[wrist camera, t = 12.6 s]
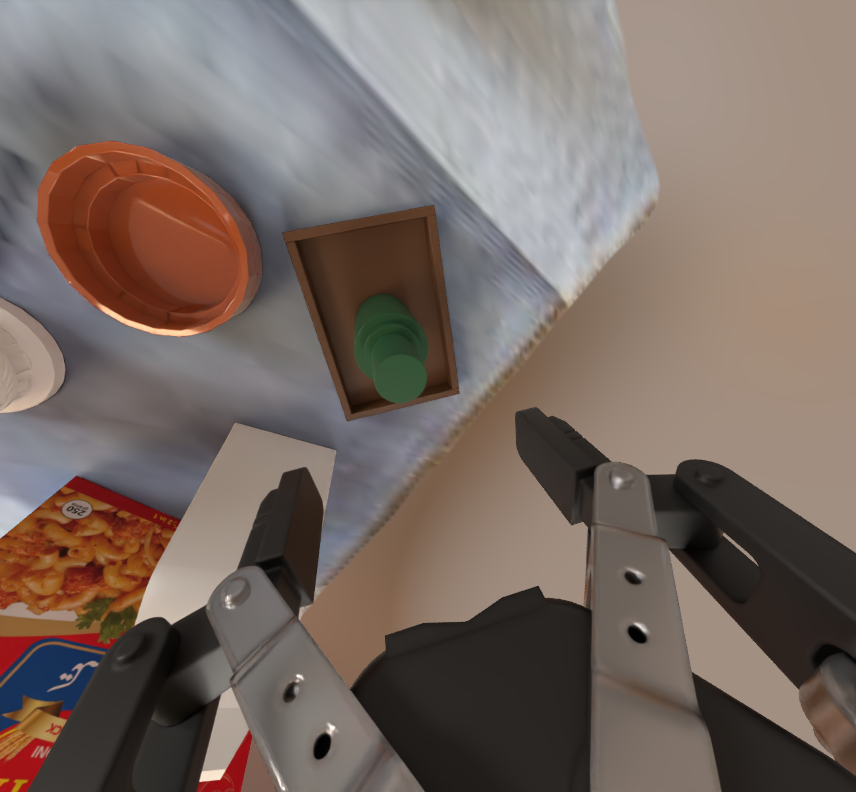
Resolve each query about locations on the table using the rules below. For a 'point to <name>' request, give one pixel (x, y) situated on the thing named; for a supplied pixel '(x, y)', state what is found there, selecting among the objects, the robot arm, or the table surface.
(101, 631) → the pasta box
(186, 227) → the bowl
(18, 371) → the decorative container
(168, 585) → the milk
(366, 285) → the tray
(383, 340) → the bottle
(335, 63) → the table surface
